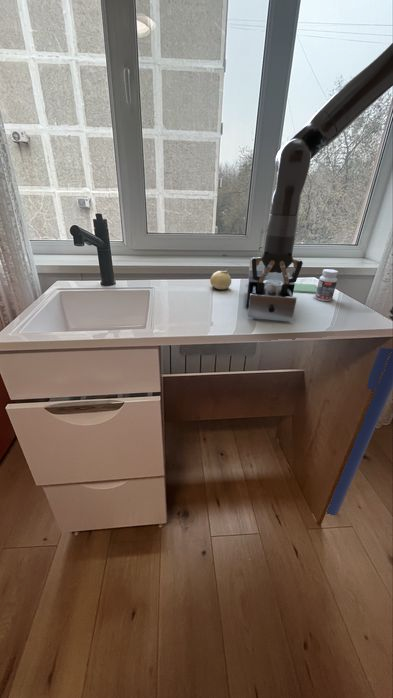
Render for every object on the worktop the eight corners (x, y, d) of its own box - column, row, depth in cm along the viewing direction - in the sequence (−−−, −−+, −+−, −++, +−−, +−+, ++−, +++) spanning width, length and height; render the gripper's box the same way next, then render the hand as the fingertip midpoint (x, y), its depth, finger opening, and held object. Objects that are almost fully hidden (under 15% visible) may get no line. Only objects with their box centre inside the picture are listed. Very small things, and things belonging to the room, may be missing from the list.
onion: (213, 291, 105) (214, 272, 102) (207, 285, 112) (208, 267, 109) (233, 290, 107) (235, 271, 104) (226, 284, 114) (228, 266, 110)
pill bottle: (320, 302, 98) (327, 273, 93) (311, 296, 103) (317, 268, 98) (335, 301, 99) (343, 272, 94) (325, 295, 104) (332, 268, 99)
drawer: (292, 323, 79) (297, 299, 76) (247, 319, 81) (250, 296, 78) (287, 305, 92) (290, 284, 89) (248, 302, 94) (250, 281, 90)
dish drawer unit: (289, 311, 90) (294, 284, 85) (246, 308, 92) (248, 281, 87) (285, 296, 102) (289, 272, 98) (246, 293, 104) (249, 270, 100)
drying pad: (314, 286, 115) (315, 284, 114) (319, 293, 106) (320, 292, 106) (289, 284, 116) (289, 282, 116) (292, 291, 108) (292, 290, 107)
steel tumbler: (278, 306, 88) (282, 280, 84) (279, 313, 83) (284, 285, 79) (259, 304, 88) (263, 279, 85) (259, 311, 84) (263, 284, 80)
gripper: (253, 234, 73) (246, 297, 81) (311, 236, 71) (298, 301, 79) (253, 230, 80) (246, 289, 88) (306, 233, 78) (295, 293, 86)
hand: (271, 294), depth 84 cm, fingers closed on steel tumbler, 5 cm apart
